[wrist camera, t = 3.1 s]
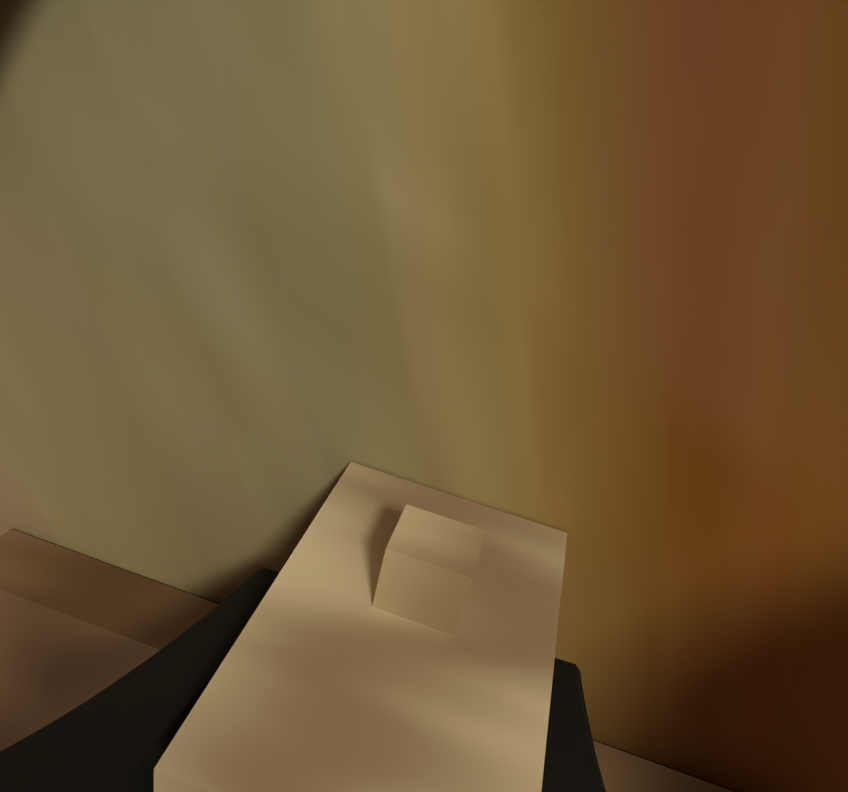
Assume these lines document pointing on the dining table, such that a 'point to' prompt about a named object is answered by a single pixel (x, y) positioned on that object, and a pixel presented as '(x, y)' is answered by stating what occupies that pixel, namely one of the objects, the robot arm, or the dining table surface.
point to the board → (139, 645)
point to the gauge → (387, 655)
